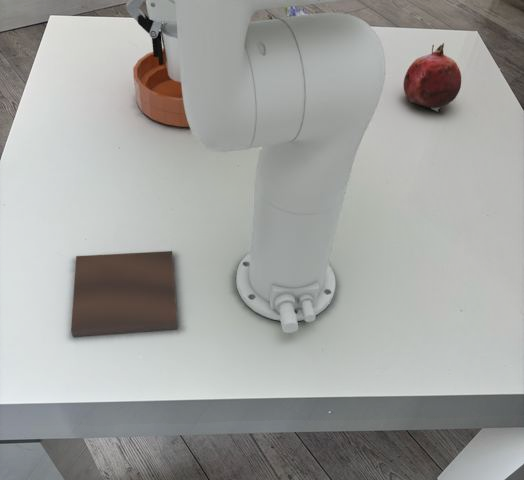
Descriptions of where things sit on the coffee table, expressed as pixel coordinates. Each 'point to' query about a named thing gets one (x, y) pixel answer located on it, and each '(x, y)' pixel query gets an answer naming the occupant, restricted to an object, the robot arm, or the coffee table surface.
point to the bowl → (158, 92)
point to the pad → (124, 294)
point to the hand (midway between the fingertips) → (185, 59)
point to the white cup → (171, 50)
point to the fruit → (433, 80)
